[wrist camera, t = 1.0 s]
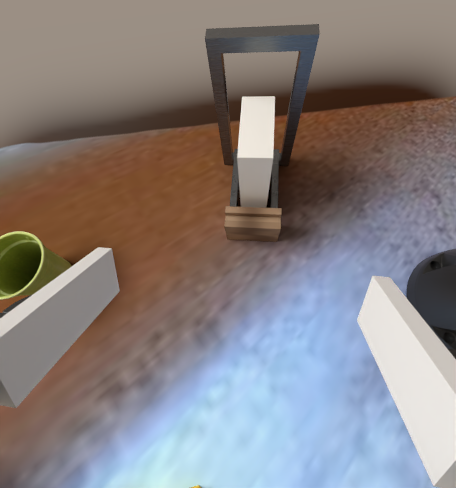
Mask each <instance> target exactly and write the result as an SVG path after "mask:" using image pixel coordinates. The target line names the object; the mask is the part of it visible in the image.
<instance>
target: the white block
mask: <svg viewBox="0 0 456 488" xmlns="http://www.w3.org/2000/svg"><path fill="white" fill-rule="evenodd" d="M274 111H275V96H274V97H273V96H271V97H242V107H241V118H240V130H239V142H238V154H237V161H238V175H239V188H240V202H241V207H259V208H266V207H267V200H268V192H269V185H270V178H271V171H272V163H273V148H274Z"/></svg>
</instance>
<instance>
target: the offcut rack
mask: <svg viewBox="0 0 456 488" xmlns="http://www.w3.org/2000/svg"><path fill="white" fill-rule="evenodd" d="M318 38H319V24H313V25H289V26H267V27H242V28H216V29H206V36H205V42H206V48H207V55H208V61H209V68H210V74H211V80H212V87H213V93H214V99H215V106H216V113H217V119H218V126H219V132H220V139H221V145H222V151H223V158H224V164H225V165H233V176H232V187H231V199H230V206H231V207H238V196H239V175H238V161H237V154H238V149H235V153H233V150H232V140H231V129H230V119H229V109H228V99H227V89H226V78H225V69H224V58H223V53H248V52H277V51H278V52H281V51H299V54H298V59H297V66H296V71H295V76H294V82H293V88H292V94H291V99H290V105H289V110H288V116H287V121H286V127H285V133H284V138H283V144H282V150H281V153H279V150H273V163H272V171H271V193H270V208H278V170H279V166H288V165H289V161H290V156H291V152H292V148H293V144H294V140H295V135H296V131H297V127H298V123H299V118H300V114H301V109H302V106H303V102H304V97H305V93H306V89H307V84H308V80H309V76H310V72H311V68H312V63H313V59H314V55H315V51H316V46H317V42H318Z"/></svg>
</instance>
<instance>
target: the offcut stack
mask: <svg viewBox="0 0 456 488" xmlns="http://www.w3.org/2000/svg"><path fill="white" fill-rule="evenodd" d="M281 210H282V208H259V207H231V206H226V210H225V214H226V220H225V226H224V227H225V231H226V235H227V239H230V240H250V241H271V242H277V240H278V236H279V233H280V230H281Z"/></svg>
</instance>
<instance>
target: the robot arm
mask: <svg viewBox="0 0 456 488" xmlns="http://www.w3.org/2000/svg"><path fill="white" fill-rule="evenodd" d="M119 291H120V290H119V284H118V279H117V274H116V269H115V263H114V258H113V253H112V249H111V248H101V247H98V248H97V249H95V250H94V251H92V252H91V253H90V254H88V255H87V256H86V257H84V258H83V259H81V260H80V261H79V262H77V263H76V264H74V265H73V266H72V267H70V268H69V269H68V270H66V271H65V272H63V273H62V274H61V275H59V276H58V277H57V278H55V279H54V280H52V281H51V282H50V283H48V284H47V285H46V286H44V287H43V288H41V289H40V290H39V291H37V292H36V293H35V294H33V295H30V296H28V297H26V298H23V299H21V300H19V301H17V302H15V303H14V304H12V305H11V306H9V307H8V308H7V309H5V310H4V311H3V313H0V405H3V406H8V407H14V408H17V406H18V405H19V404H20V403H21V402H22V401H23V400H24V399H25V397H26V396H27V395H28V394H29V393H30V392H31V391H32V390H33V388H34V387H35V386H36V385H37V384H38V383H39V382H40V381H41V379H42V378H43V377H44V376H45V375H46V374H47V373H48V371H49V370H50V369H51V368H52V367H53V366H54V365H55V364H56V362H57V361H58V360H59V359H60V358H61V357H62V356H63V355H64V353H65V352H66V351H67V350H68V349H69V348H70V347H71V346H72V344H73V343H74V342H75V341H76V340H77V339H78V338H79V336H80V335H81V334H82V333H83V332H84V331H85V330H86V329H87V327H88V326H89V325H90V324H91V323H92V322H93V321H94V320H95V318H96V317H97V316H98V315H99V314H100V313H101V312H102V310H103V309H104V308H105V307H106V306H107V305H108V304H109V303H110V301H111V300H112V299H113V298H114V297H115V296H116V295H117V294H118V292H119ZM357 321H358V323H359V326H360V328H361V330H362V332H363V334H364V336H365V339H366V341H367V343H368V345H369V347H370V349H371V352H372V354H373V356H374V358H375V360H376V362H377V365H378V367H379V369H380V371H381V373H382V375H383V378H384V380H385V382H386V384H387V386H388V388H389V391H390V393H391V395H392V397H393V399H394V401H395V404H396V406H397V408H398V410H399V412H400V414H401V417H402V419H403V421H404V423H405V425H406V427H407V430H408V432H409V434H410V436H411V438H412V441H413V443H414V445H415V447H416V449H417V451H418V454H419V456H420V458H421V460H422V462H423V464H424V467H425V469H426V471H427V473H428V475H429V477H430V480H431V482H432V484H433V486H435V487H440V488H456V249H453V250H448V251H444V252H441V253H438V254H436V255H433V256H431V257H429V258H427V259H425V260H423V261H422V262H421V263H420V264H418V265H417V266H416V268H415V269H414V270H413V272H412V274H411V276H410V278H409V281H408V285H407V298H406V297H405V296H404V294H403V293H402V292H401V291H400V289H399V288H398V287H397V286H396V284H395V283H394V282H393V281H392V280H391V278H390V277H380V276H372V279H371V282H370V285H369V288H368V290H367V293H366V296H365V299H364V302H363V305H362V308H361V311H360V313H359V316H358V319H357Z"/></svg>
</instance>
